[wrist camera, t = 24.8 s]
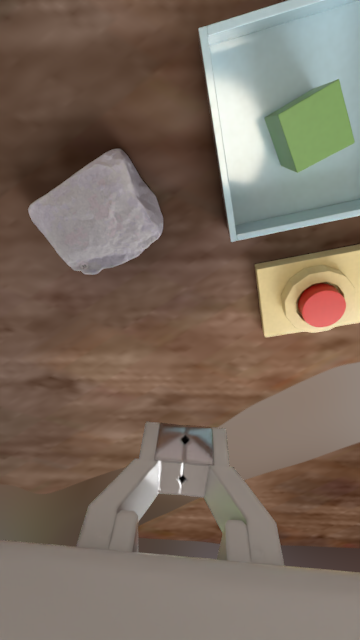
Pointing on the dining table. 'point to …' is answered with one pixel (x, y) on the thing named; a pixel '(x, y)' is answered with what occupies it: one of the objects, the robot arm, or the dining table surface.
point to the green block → (311, 127)
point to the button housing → (298, 275)
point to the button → (321, 305)
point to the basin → (270, 95)
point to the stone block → (99, 215)
